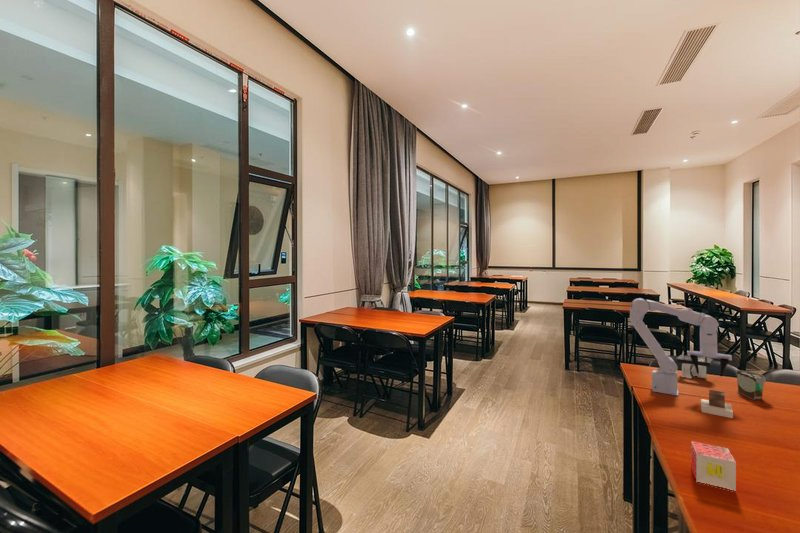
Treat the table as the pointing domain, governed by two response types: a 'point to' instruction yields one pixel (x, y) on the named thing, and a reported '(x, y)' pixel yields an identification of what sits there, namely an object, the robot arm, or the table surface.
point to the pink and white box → (713, 465)
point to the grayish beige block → (717, 398)
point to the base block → (716, 409)
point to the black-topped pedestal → (693, 366)
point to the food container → (750, 384)
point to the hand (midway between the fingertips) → (709, 374)
